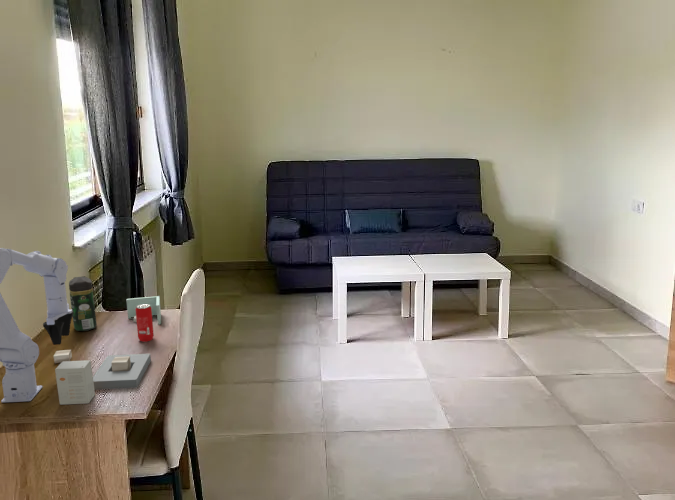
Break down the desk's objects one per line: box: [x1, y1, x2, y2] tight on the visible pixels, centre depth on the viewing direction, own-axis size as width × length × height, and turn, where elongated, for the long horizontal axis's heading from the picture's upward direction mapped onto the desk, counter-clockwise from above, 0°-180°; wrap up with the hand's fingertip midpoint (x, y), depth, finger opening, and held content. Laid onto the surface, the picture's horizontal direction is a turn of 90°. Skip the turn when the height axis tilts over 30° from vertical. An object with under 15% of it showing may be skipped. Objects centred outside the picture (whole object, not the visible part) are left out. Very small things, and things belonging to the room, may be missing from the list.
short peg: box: [53, 349, 73, 364], centre depth 212 cm, size 4×4×2 cm
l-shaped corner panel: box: [126, 295, 162, 325], centre depth 248 cm, size 12×12×8 cm
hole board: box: [93, 353, 152, 391], centre depth 199 cm, size 20×13×2 cm, turn 4°
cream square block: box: [111, 356, 131, 371], centre depth 199 cm, size 4×4×5 cm
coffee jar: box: [68, 276, 97, 332], centre depth 240 cm, size 10×8×19 cm
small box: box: [54, 359, 96, 406], centre depth 182 cm, size 8×6×10 cm
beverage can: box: [136, 304, 155, 343], centre depth 227 cm, size 5×5×12 cm
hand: (61, 339), depth 203 cm, fingers open, 7 cm apart
